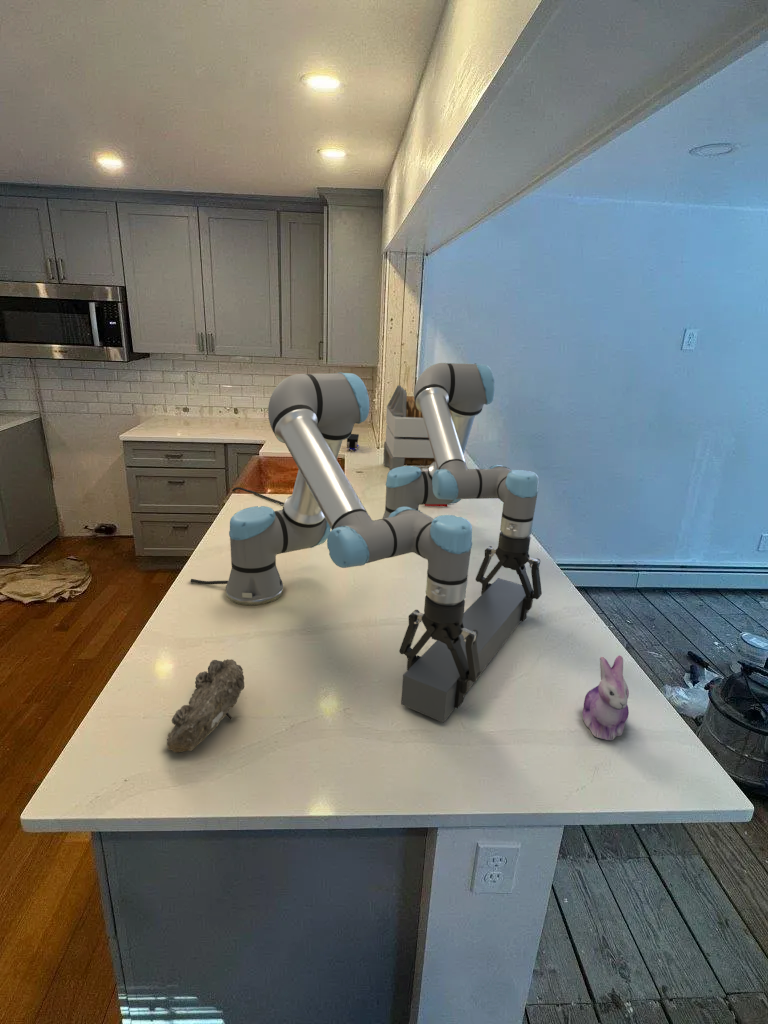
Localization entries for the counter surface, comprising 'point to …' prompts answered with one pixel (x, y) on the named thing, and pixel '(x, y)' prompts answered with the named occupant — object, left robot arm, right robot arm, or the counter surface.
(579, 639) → the counter surface
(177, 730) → the fossil
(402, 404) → the transformer
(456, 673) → the wide beam
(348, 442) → the figurine character
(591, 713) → the figurine
